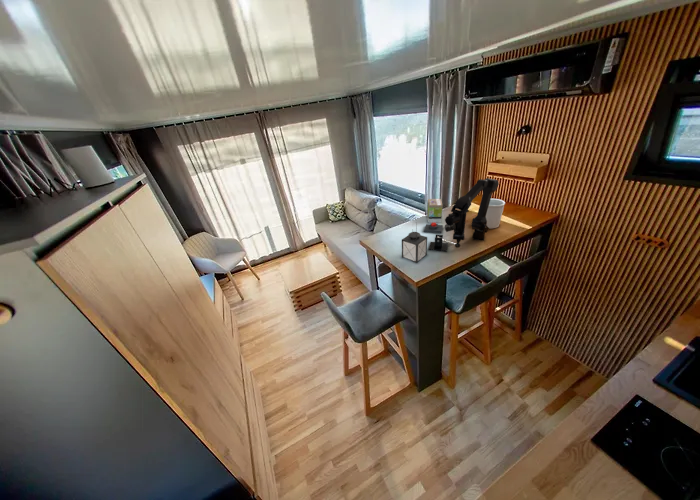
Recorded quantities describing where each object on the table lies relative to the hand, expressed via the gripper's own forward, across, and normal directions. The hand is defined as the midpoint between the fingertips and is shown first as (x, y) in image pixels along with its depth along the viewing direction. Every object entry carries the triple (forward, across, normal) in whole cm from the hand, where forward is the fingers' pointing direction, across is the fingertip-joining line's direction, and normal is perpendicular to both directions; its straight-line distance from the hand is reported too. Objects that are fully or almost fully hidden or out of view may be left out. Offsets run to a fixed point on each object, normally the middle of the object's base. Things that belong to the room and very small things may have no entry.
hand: (457, 242), depth 158 cm
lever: (+1, 0, -6) cm, 6 cm away
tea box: (+5, -45, -20) cm, 49 cm away
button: (+1, -25, -18) cm, 31 cm away
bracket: (+5, 0, -12) cm, 13 cm away
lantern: (+5, +14, -25) cm, 29 cm away
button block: (+5, -25, -18) cm, 31 cm away
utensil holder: (+5, -40, +19) cm, 45 cm away
